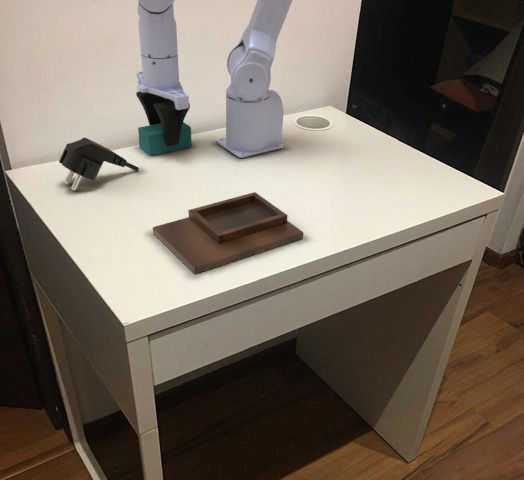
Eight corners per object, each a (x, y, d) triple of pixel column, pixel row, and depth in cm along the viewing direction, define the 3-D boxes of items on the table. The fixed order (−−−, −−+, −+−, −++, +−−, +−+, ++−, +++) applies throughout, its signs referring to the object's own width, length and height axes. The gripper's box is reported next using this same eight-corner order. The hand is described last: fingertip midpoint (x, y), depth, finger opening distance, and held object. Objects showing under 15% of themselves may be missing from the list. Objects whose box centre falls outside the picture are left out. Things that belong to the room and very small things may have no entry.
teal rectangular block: (180, 139, 104) (179, 119, 102) (191, 147, 102) (191, 126, 100) (139, 147, 101) (137, 127, 98) (150, 156, 98) (148, 135, 96)
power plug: (148, 171, 92) (82, 139, 83) (127, 213, 94) (60, 187, 85) (131, 158, 95) (66, 126, 86) (111, 199, 97) (45, 173, 88)
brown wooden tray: (256, 204, 87) (256, 190, 85) (303, 238, 80) (304, 224, 78) (152, 233, 79) (151, 219, 78) (194, 274, 72) (193, 259, 71)
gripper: (116, 45, 94) (126, 129, 103) (157, 69, 85) (163, 159, 94) (156, 40, 97) (162, 122, 106) (199, 63, 88) (201, 150, 97)
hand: (165, 139), depth 100 cm, fingers open, 4 cm apart
